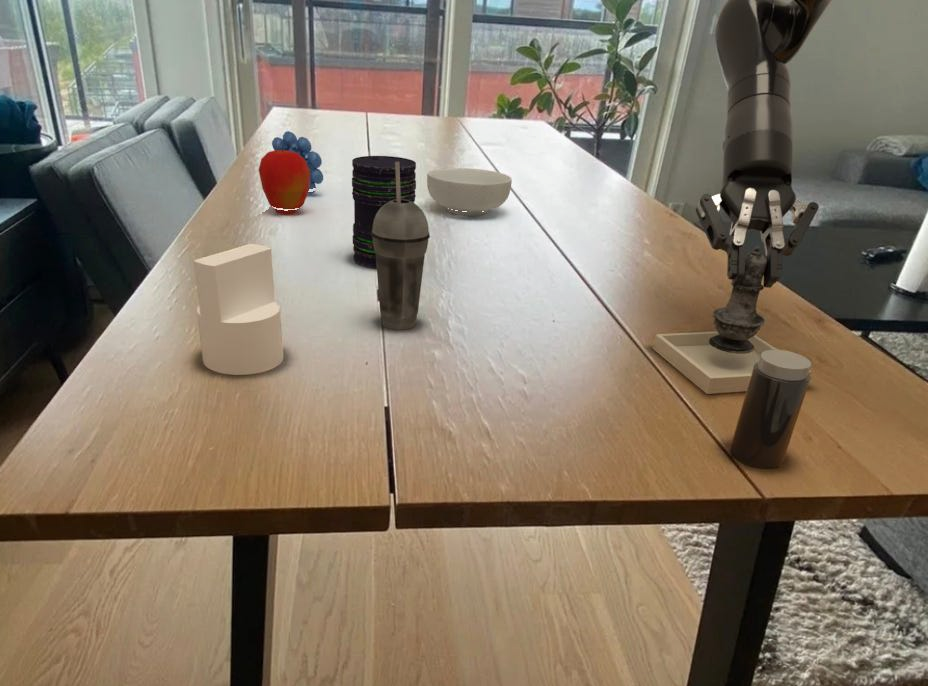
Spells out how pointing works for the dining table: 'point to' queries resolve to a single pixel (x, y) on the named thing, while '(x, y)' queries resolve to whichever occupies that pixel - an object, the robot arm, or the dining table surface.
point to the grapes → (303, 149)
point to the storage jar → (376, 197)
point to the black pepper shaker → (770, 408)
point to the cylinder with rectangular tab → (238, 311)
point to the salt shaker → (741, 309)
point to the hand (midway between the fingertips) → (754, 282)
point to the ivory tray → (710, 360)
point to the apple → (284, 180)
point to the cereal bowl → (468, 189)
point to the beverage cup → (399, 259)
